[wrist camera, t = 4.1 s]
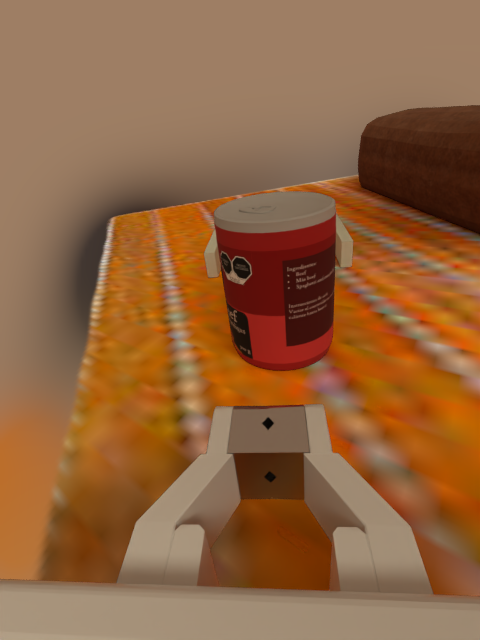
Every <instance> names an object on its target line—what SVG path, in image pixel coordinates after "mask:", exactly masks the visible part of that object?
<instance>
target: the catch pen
mask: <svg viewBox="0 0 480 640" xmlns="http://www.w3.org/2000/svg"><path fill="white" fill-rule="evenodd" d="M335 255H336V257H337V260H338V262H339V264H340V267H341V268H342V267H352V255H353V240H352V238H351V236H350V235H349V233H348V231H347V230H346V228H345V226H344V225H343V223H342V222H341V220H340V218H339V217H338V215H337V213H336V250H335ZM204 257H205V262H206V268H207V274H208V278H210V277H218V276H219V273H220V269H221V265H220V259H219V252H218V246H217V240H216V231H215V229H214V232H213V234H212V236H211V239H210V241H209V243H208V245H207V248H206V250H205V252H204Z"/></svg>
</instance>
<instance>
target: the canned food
mask: <svg viewBox="0 0 480 640" xmlns="http://www.w3.org/2000/svg"><path fill="white" fill-rule="evenodd" d="M214 218H215V219H214V224H215V231H216V240H217V246H218V252H219V259H220V265H221V271H222V278H223V284H224V290H225V297H226V303H227V309H228V316H229V322H230V328H231V335H232V341H233V344H234V346H235V348H236V350H237V351H238V353H239V355H240V356H241V357H242V358H243V359H244V360H245V361H247V362H248V363H250V364H252V365H254V366H257V367H260V368H264V369H269V370H284V371H285V370H294V369H299V368H303V367H306V366H309V365H311V364H313V363H315V362H317V361H319V360H320V359H321V358H322V357H323V356H324V355H325V354H326V353H327V351H328V349H329V347H330V344H331V342H332V338H333V314H334V282H335V250H336V209H335V200H334V199H333V198H331V197H329V196H326V195H324V194H319V193H313V192H274V193H265V194H258V195H252V196H247V197H243V198H239V199H235V200H232V201H230V202H227V203H225V204H223V205H221V206H220V207H218V208H217V209H216V210H215V211H214Z"/></svg>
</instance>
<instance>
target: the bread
mask: <svg viewBox="0 0 480 640" xmlns="http://www.w3.org/2000/svg"><path fill="white" fill-rule="evenodd" d="M358 172H359V181H360V183H361V186H362V187H363V188H366V189H368V190H371V191H373V192H376V193H378V194H381V195H383V196H386V197H388V198H391V199H393V200H396V201H398V202H401V203H403V204H406V205H409V206H411V207H414V208H416V209H419V210H421V211H424V212H426V213H429V214H431V215H434V216H436V217H439V218H441V219H444V220H447V221H449V222H452V223H454V224H457V225H460V226H462V227H465V228H467V229H469V230H472V231H474V232H477V233H480V105H479V106H478V105H477V106H476V105H471V106H453V107H440V108H439V107H438V108H416V109H408V110H404V111H400V112H396V113H392V114H389V115H386V116H382V117H378V118H376V119H375V120H373V121H372V122H370V123H369V124H367V126H366V128H365V130H364V132H363V133H362V135H361V143H360V150H359V158H358Z"/></svg>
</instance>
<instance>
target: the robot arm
mask: <svg viewBox="0 0 480 640" xmlns="http://www.w3.org/2000/svg"><path fill="white" fill-rule="evenodd" d="M240 499H295V500H305V503H306V504H307V506H308V508H309V509H310V511H311V512H312V514H313V515H314V517H315V518H316V520H317V521H318V523H319V524H320V526H321V527H322V529H323V530H324V532H325V533H326V535H327V536H328V538H329V539H330V541H331V542H332V554H331V570H330V585H329V590H330V591H324V590H297V589H269V588H241V587H219V583H218V579H217V575H216V572H215V568H214V564H213V560H212V556H211V553H210V549H211V547H212V546H213V544H214V543H215V541H216V540H217V538H218V536H219V535H220V533H221V532H222V530H223V528H224V527H225V525H226V524H227V522H228V521H229V519H230V517H231V516H232V514H233V513H234V511H235V510H236V508H237V506H238V505H239V503H240V502H241V500H240ZM0 640H480V596H461V595H434V594H433V591H432V588H431V585H430V582H429V579H428V576H427V573H426V570H425V567H424V564H423V561H422V558H421V555H420V552H419V549H418V547H417V544H416V541H415V538H414V535H413V532H412V529H411V526H410V525H409V524H408V523H407V522H406V521H405V520H404V519H403V518H402V517H401V516H400V515H399V514H398V513H397V512H396V511H395V510H394V509H393V508H392V507H391V506H390V505H389V504H388V503H387V502H386V501H385V500H384V499H383V498H382V497H381V496H380V495H379V494H378V493H377V492H376V491H375V490H374V489H373V488H372V487H371V486H370V485H369V484H368V483H367V482H366V481H365V480H364V479H363V478H362V477H361V476H360V475H359V474H358V472H357V471H356V470H355V469H354V468H353V467H352V466H351V465H350V464H349V463H348V462H347V461H346V460H345V459H344V458H343V457H342V456H341V455H340V454H339V453H333V452H332V446H331V441H330V436H329V430H328V425H327V420H326V414H325V409H324V406H323V405H322V404H310V405H281V406H216V408H215V410H214V414H213V419H212V424H211V430H210V435H209V441H208V446H207V451H206V454H200V455H199V456H198V457H197V459H196V460H195V461H194V462H193V463H192V464H191V465H190V466H189V467H188V468H187V469H186V470H185V471H184V472H183V473H182V474H181V475H180V476H179V477H178V479H177V480H176V481H175V482H174V483H173V484H172V485H171V486H170V487H169V488H168V489H167V490H166V491H165V492H164V493H163V494H162V495H161V496H160V497H159V498H158V500H157V501H156V502H155V503H154V504H153V505H152V506H151V507H150V508H149V509H148V510H147V511H146V512H145V513H144V514H143V515H142V516H141V517H140V518H139V519H138V521H137V522H136V524H135V527H134V530H133V533H132V536H131V539H130V543H129V546H128V549H127V552H126V555H125V558H124V561H123V564H122V567H121V570H120V573H119V576H118V579H117V582H116V583H99V582H71V581H43V580H14V579H0Z"/></svg>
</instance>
